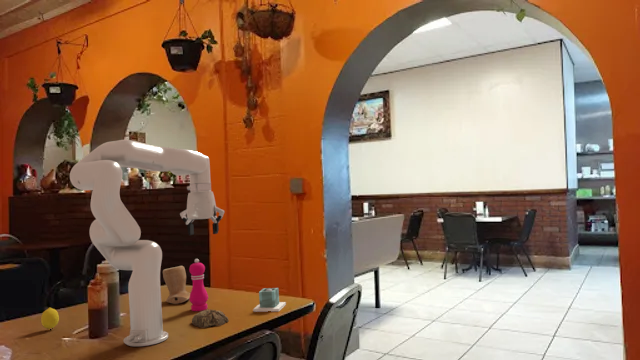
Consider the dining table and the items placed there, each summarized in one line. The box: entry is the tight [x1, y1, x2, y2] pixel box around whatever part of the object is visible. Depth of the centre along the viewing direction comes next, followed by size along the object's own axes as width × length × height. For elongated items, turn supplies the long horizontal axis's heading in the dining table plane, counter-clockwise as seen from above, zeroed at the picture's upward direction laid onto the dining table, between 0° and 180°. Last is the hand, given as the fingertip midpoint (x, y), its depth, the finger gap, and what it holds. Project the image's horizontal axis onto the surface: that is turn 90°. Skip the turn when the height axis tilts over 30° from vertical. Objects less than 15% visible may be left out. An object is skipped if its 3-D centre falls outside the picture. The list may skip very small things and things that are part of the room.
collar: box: [258, 287, 280, 308], centre depth 181 cm, size 6×6×6 cm
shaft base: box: [252, 289, 287, 313], centre depth 181 cm, size 10×10×7 cm
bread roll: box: [191, 308, 229, 329], centre depth 166 cm, size 13×12×5 cm
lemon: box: [40, 307, 60, 330], centre depth 169 cm, size 6×6×8 cm
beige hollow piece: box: [162, 265, 191, 305], centre depth 204 cm, size 15×12×15 cm
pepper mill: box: [188, 258, 209, 312], centre depth 187 cm, size 7×7×20 cm
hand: (203, 234), depth 176 cm, fingers open, 9 cm apart
